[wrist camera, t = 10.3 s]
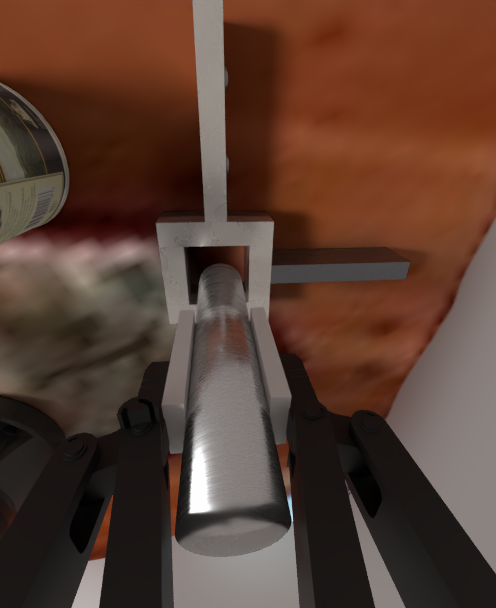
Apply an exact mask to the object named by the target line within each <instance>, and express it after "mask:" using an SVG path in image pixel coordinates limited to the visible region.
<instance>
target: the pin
mask: <svg viewBox="0 0 496 608" xmlns="http://www.w3.org/2000/svg"><path fill="white" fill-rule="evenodd" d="M291 520H292V519H291V515H290V510H289V505H288V500H287V496H286V491H285V486H284V481H283V476H282V472H281V467H280V462H279V457H278V452H277V448H276V443H275V438H274V433H273V429H272V424H271V419H270V414H269V409H268V405H267V400H266V395H265V390H264V386H263V381H262V376H261V371H260V366H259V362H258V357H257V352H256V347H255V342H254V338H253V333H252V328H251V323H250V318H249V314H248V309H247V304H246V299H245V295H244V290H243V285H242V280H241V276H240V274H239V273H238V271H237V270H236V269H235V268H233V267H232V266H230V265H227V264H214V265H211V266H209V267H208V268H206V269H205V270H204V271H203V273H202V274H201V276H200V280H199V290H198V300H197V310H196V320H195V332H194V343H193V353H192V363H191V374H190V384H189V395H188V405H187V415H186V424H185V433H184V444H183V454H182V464H181V475H180V485H179V495H178V505H177V516H176V526H175V538H176V540H177V542H178V543H179V544H180V545H181V546H182V547H183V548H185V549H186V550H188V551H190V552H193V553H196V554H200V555H205V556H214V557H227V556H237V555H243V554H248V553H251V552H255V551H258V550H261V549H263V548H265V547H267V546H270V545H272V544H273V543H275V542H277V541H278V540H279V539H281V538H282V537H283V536H284V535H285V534H286V533H287V532H288V530H289V528H290V526H291Z"/></svg>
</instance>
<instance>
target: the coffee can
mask: <svg viewBox="0 0 496 608" xmlns="http://www.w3.org/2000/svg"><path fill="white" fill-rule="evenodd" d="M68 190H69V168H68V164H67V159H66V156H65V153H64V150H63V148H62V145H61V143H60V141H59V139H58V138H57V136H56V134H55V132H54V131H53V129H52V127H51V126H50V125H49V123H48V122H47V121H46V119H45V118H44V117H43V116H42V114H41V113H40V112H39V111H38V110H37V109H36V108H35V107H34V106H33V105H32V104H31V103H30V102H28V101H27V100H26V99H25V98H24V97H22V96H21V95H20V94H18V93H17V92H15V91H14V90H12V89H11V88H9V87H8V86H6V85H4V84H2V83H0V244H1V243H3V242H5V241H7V240H9V239H12V238H14V237H16V236H18V235H20V234H22V233H24V232H26V231H28V230H31V229H33V228H36V227H39V226H41V225H43V224H45V223H47V222H49V221H50V220H52V219H53V218H54V217H55V216H56V215H57V214H58V213H59V211H60V210H61V209H62V207H63V205H64V203H65V201H66V198H67V195H68Z"/></svg>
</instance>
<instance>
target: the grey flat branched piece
mask: <svg viewBox="0 0 496 608" xmlns="http://www.w3.org/2000/svg"><path fill="white" fill-rule="evenodd" d="M193 16H194V34H195V52H196V70H197V88H198V105H199V123H200V141H201V159H202V177H203V194H204V211H164V212H163V213H162V215H161V216H160V217H159V219H158V220H157V222H156V229H157V236H158V243H159V251H160V258H161V265H162V272H163V279H164V287H165V294H166V301H167V308H168V315H169V323H170V324H177V323H178V318H179V313H180V310H194V316H195V320H196V310H197V300H198V290H199V284H193V285H192V280H191V268H190V257H189V247H200V246H244V283H242V285H243V290H244V295H245V299H246V304H247V309H248V314H249V318H250V308H256V307H264V309H265V312H266V316H267V319H268V315H269V298H270V284H276V283H306V282H336V281H366V280H395V279H405V278H406V275H407V272H408V269H409V265H410V261H408V260H406V259H405V258H403V257H401V256H400V255H398V254H396V253H395V252H393V251H391V250H390V249H388V248H386V247H372V248H324V249H276V250H272V247H273V230H274V221H273V220H272V219H271V217H270V216H269V215H268V214H267V212H266V211H227V193H226V173H229V155H226V141H225V90H228V67H224V38H223V0H193Z"/></svg>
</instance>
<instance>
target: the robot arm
mask: <svg viewBox="0 0 496 608" xmlns="http://www.w3.org/2000/svg"><path fill="white" fill-rule="evenodd" d="M250 323H251V328H252V333H253V338H254V342H255V347H256V352H257V357H258V362H259V366H260V371H261V376H262V381H263V386H264V390H265V395H266V400H267V405H268V409H269V414H270V419H271V424H272V429H273V433H274V438H275V443H276V445H278V444H286V437H287V439H288V443H289V454H288V461H287V467H289V470H290V484H291V497H292V511H293V524H294V537H295V551H296V564H297V577H298V590H299V604H300V608H375V606H374V601H373V597H372V592H371V588H370V584H369V580H368V576H367V571H366V567H365V563H364V559H363V555H362V550H361V546H360V542H359V538H358V534H357V529H356V525H355V521H354V517H353V512H352V508H351V504H350V500H349V495H348V491H347V487H346V483H347V485H348V487H349V489H350V491H351V493H352V495H353V498H354V500H355V502H356V504H357V506H358V508H359V510H360V512H361V514H362V516H363V519H364V521H365V523H366V525H367V527H368V529H369V531H370V533H371V535H372V538H373V540H374V542H375V544H376V546H377V548H378V550H379V552H380V554H381V556H382V559H383V561H384V563H385V565H386V567H387V569H388V571H389V573H390V575H391V577H392V580H393V582H394V584H395V586H396V588H397V590H398V592H399V595H400V597H401V599H402V601H403V603H404V605H405V607H406V608H496V574H495V572H494V571H493V570H492V568H491V567H490V565H489V564H488V563H487V561H486V560H485V559H484V557H483V556H482V554H481V553H480V551H479V550H478V549H477V547H476V546H475V545H474V543H473V542H472V540H471V539H470V538H469V536H468V535H467V533H466V532H465V531H464V529H463V528H462V527H461V525H460V524H459V522H458V521H457V520H456V518H455V517H454V515H453V514H452V513H451V511H450V510H449V508H448V507H447V506H446V504H445V503H444V502H443V500H442V499H441V497H440V496H439V494H438V493H437V492H436V490H435V489H434V488H433V486H432V485H431V483H430V482H429V481H428V479H427V478H426V477H425V475H424V474H423V472H422V471H421V469H420V468H419V467H418V465H417V464H416V463H415V461H414V460H413V459H412V457H411V456H410V454H409V453H408V451H407V450H406V449H405V447H404V446H403V445H402V443H401V442H400V440H399V439H398V438H397V436H396V435H395V433H394V432H393V431H392V429H391V428H390V426H389V425H388V424H387V422H386V421H385V420H384V419H383V418H382V417H381V416H379V415H378V414H376V413H374V412H371V411H368V410H360V411H357V412H355V413H354V414H353V415H352V417H347V416H342V415H337V414H334V413H331V412H329V411H328V410H327V408H326V407H325V406H323V405H322V404H321V403H319V401H318V399H317V397H316V395H315V392H314V390H313V387H312V385H311V382H310V380H309V377H308V376H307V373H306V370H305V368H304V365H303V363H302V360H301V359H300V358H299V357H298V356H297V355H295V354H278V351H277V348H276V345H275V341H274V338H273V335H272V332H271V328H270V325H269V322H268V319H267V316H266V312H265V309H264V307H256V308H250ZM194 332H195V316H194V310H180V313H179V318H178V323H177V328H176V333H175V338H174V343H173V349H172V354H171V359H170V361H167V362H152V363H151V364H150V365H149V367H148V368H147V369H146V370H145V373H144V377H143V381H142V383H141V388H140V390H139V393H138V397H135V398H132V399H130V400H128V401H127V402H125V403H124V404H123V405H122V406H121V407H120V408H119V410H118V413H117V417H118V420H119V423H120V426H121V429H119V430H118V431H116V432H113V433H111V434H108V435H105V436H103V437H100V438H97V439H96V437H94V436H93V435H92V434H89V433H80V434H76V435H73V436H71V437H69V438H67V439H66V440H65V438H64V435H63V433H62V432H61V430H60V429H59V427H58V426H57V425H56V424H55V423H54V422H53V421H52V420H51V419H50V418H49V417H47V416H46V415H44V414H43V413H41V412H40V411H38V410H36V409H34V408H32V407H30V406H28V405H26V404H23V403H20V402H17V401H14V400H11V399H7V398H2V397H0V608H71V607H72V604H73V601H74V599H75V596H76V593H77V590H78V588H79V585H80V582H81V579H82V576H83V574H84V571H85V568H86V566H87V563H88V560H89V557H90V555H91V552H92V549H93V546H94V544H95V541H96V538H97V535H98V533H99V530H100V527H101V524H102V522H103V519H104V516H105V513H106V511H107V508H108V505H109V502H110V499H111V497H112V495H113V494H114V495H113V503H112V511H111V519H110V527H109V534H108V542H107V550H106V558H105V567H104V574H103V582H102V590H101V597H100V605H99V608H174V602H173V572H172V540H171V510H170V479H169V463H168V452H169V449H170V454H176V453H183V444H184V433H185V424H186V415H187V405H188V395H189V384H190V374H191V363H192V353H193V343H194ZM345 481H346V483H345Z"/></svg>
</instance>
